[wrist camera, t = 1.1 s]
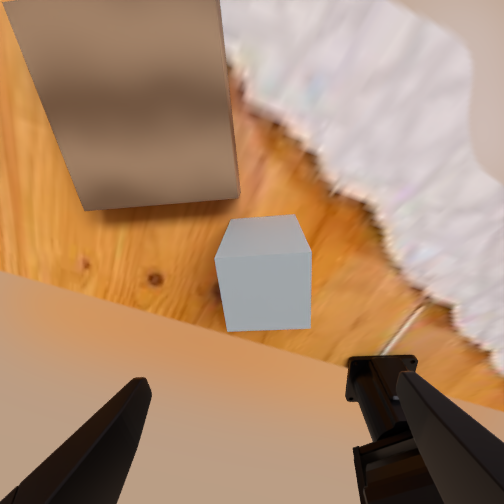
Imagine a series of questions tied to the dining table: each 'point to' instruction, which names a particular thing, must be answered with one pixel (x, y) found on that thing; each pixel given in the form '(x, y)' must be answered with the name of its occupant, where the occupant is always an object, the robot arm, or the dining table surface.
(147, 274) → the dining table surface
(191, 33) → the walnut plinth
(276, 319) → the slate block
